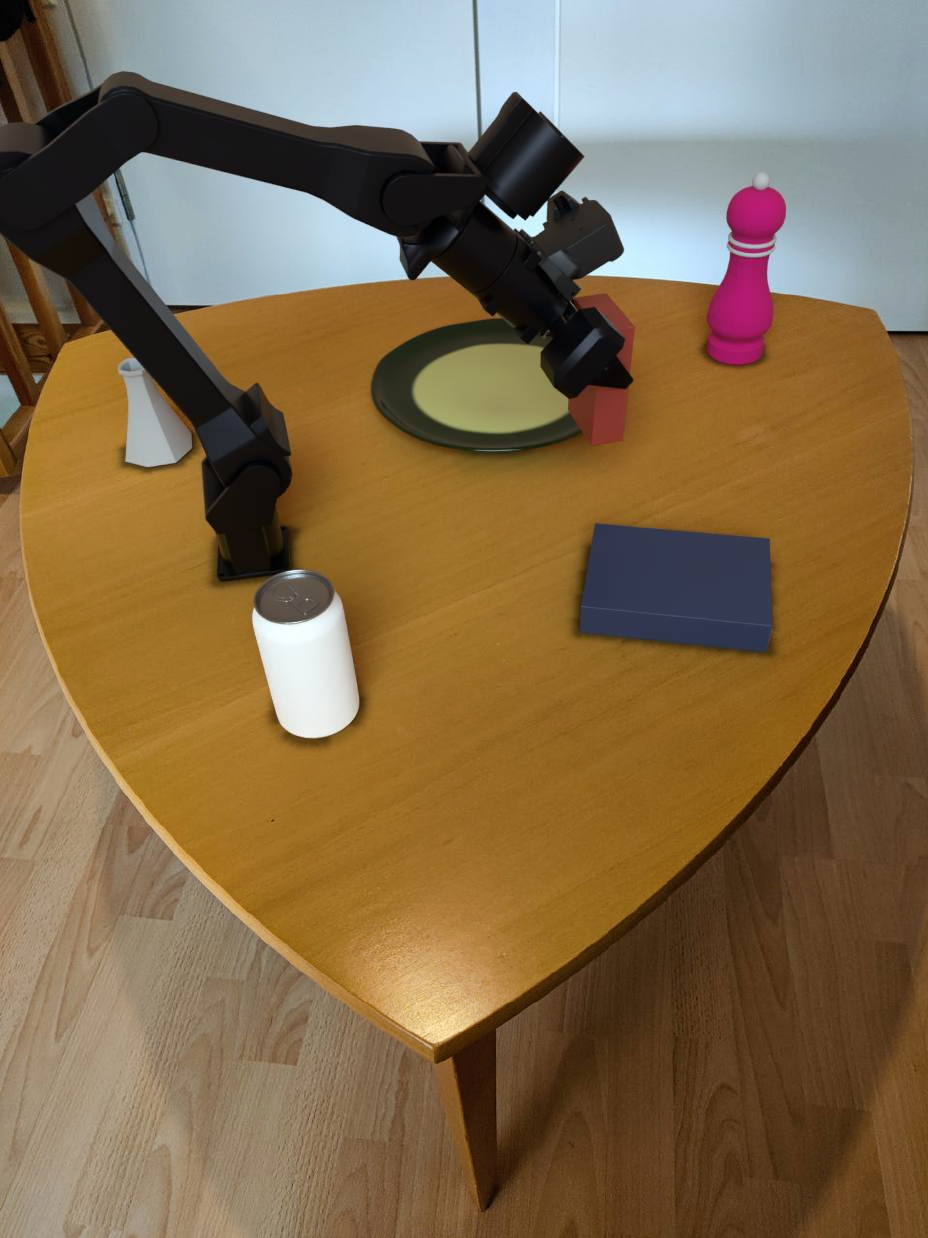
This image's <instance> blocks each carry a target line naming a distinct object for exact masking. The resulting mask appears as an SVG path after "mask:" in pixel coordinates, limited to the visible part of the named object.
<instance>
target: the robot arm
mask: <svg viewBox="0 0 928 1238" xmlns="http://www.w3.org/2000/svg"><path fill="white" fill-rule="evenodd" d="M142 153H143V154H145V153H147V154H150V155H153V156H158V157H161V158H165V159H166V158H167V159H170V160H174V161H179V162H180V163H181V162H182V163H186V164H190V165H193V166H197V167H202V168H205V169H209V170H210V169H211V170H214V171H218V172H221V173H226V174H229V175H233V176H238V177H241V178H245V179H250V180H252V181H258V182H261V183H264V184H269V185H272V186H277V187H282V188H286V189H289V190H293V191H297V192H302V193H305V194H308V195H311V196H313V197H315V198H317V199H320V200H322V201H324V202H326V203H327V204H328V205H330V206H331V207H334V208H335V209H337V210H338V211H340V212H341V213H343V214H344V215H346V216H348V217H350V218H351V219H353V220H355V221H358V222H360V223H363V224H365V225H367V226H369V227H371V228H373V229H376V230H378V231H380V232H383V233H385V234H386V235H389V236H392V237H396V240H397V242H398V245H399V258H398V259H399V262H400V263H401V266H402V269H403V270H404V272H405V276H406V277H407V279H408V280H409V281H416V280H417V279H418V278H419V277H420V275H421V274H422V273H423V272H424V271H425V269H426V268H427V267H428V266H429V264H430V263H432V264H433V265H435V266H436V267H437V268H438V269H440V270H441V271H442V272H444V273H445V274H446V275H447V276H448V277H450V278H451V279H452V280H453V281H455V282H456V283H457V284H458V285H460V286H461V287H462V288H464V289H465V291H467V292H468V293H470V294H471V295H472V296H473V297H474V298H476V299H477V301H478V303H479V305H480V306H481V307H482V309H483V311H485V312H486V313H487V314H488V315H490V316H491V317H492V318H494V316H495V315H497V316H498V317H499V318H502V319H504V320H505V321H506V322H507V323H509V324H510V325H511V326H513V327H514V328H513V329H514V330H515V332H516V333H517V335H518V336H519V338H520V339H521V340H523V341H524V342H525V343H527V344H529V343H530V342H531V341H532V340H533V338H534V337H535V336H536V335H537V334H538V333H539V334H540V335H541V337H543V338H544V339H545V338H547V337H548V336H549V337H552V338H553V339H552V340H551V341H550V342H549V343H548V344H547V345H546V347H545V348H544V349H543V350H542V351H541V355H540V367H541V369H542V370H543V372H544V373H545V375H546V376H547V378H548V379H549V381H550V382H551V384H552V386H553V387H554V388H555V389H556V390H558V391H559V392H560V393H562V394H563V395H564V396H566V397H567V398H568V399H572V398H576V397H577V396H578V395H579V394H580V393H581V392H582V391H583V390H584V389H585V388H586V387H587V386H588V385H592V386H601V387H610V388H618V389H626V388H628V387H629V388H630V386H631V385H632V384H633V382H634V381H635V380H634V377H633V376H632V375H631V372H630V373H629V372H628V371H627V369H626V368H625V367H624V365H623V364H622V362H621V361H620V360H619V358H618V357H617V354H618V353H619V352H620V351H621V350H622V349H623V346H624V343H625V338H624V337H623V335H622V334H621V333H620V332H619V330H618V329H617V328H616V327H615V325H614V324H613V323H612V322H611V321H610V320H609V319H608V317H607V316H606V315H604V314H603V313H602V312H601V311H599V310H598V309H597V308H596V307H590V308H583V309H579V310H577V309H576V308H575V307H574V298H576V297H577V295H578V294H579V293H580V292H581V291H582V288H581V287H580V285H579V284H578V283H576V282H575V281H577V280H581V279H583V278H584V277H587V276H588V275H590V274H591V273H593V272H594V271H596V270H597V269H600V268H601V267H603V266H605V265H606V264H607V263H611V262H612V263H613V262H615V261H617V260H618V259H619V258H621V256H623V254H624V252H625V247H624V245H623V242H622V239H621V237H620V235H619V232H618V229H617V227H616V225H615V222H614V219H613V217H612V215H611V214H610V213H609V211H608V210H607V209H606V208H605V207H604V206H603V205H602V204H601V203H600V202H599V201H598V200H596V199H589V198H588V197H587V196H584V197H582V198H581V202H582V203H580V202H579V201H578V200H577V199H575V198H574V197H573V196H571V195H570V194H569V193H567V192H566V191H565V190H559V191H558V192H556V191H557V190H558V189H559V188H560V187H561V186H562V184H564V182H565V181H566V180H567V179H568V177H569V176H570V175H571V174H572V173H573V171H575V169H576V168H577V167H578V165H579V164H580V163H581V162H582V161H583V159H584V158H585V155H584V154H583V152H582V151H580V150H579V148H578V147H577V146H576V145H574V143H573V142H571V141H570V139H569V138H568V137H567V136H566V135H565V134H564V133H563V132H562V131H561V130H560V129H559V128H558V127H557V126H556V125H555V124H554V123H553V122H552V121H551V120H550V119H549V118H548V117H547V116H546V115H545V114H544V113H543V112H542V111H541V110H539V112H538V111H537V110H536V109H535V108H534V107H533V106H532V105H531V104H530V103H529V102H528V101H527V100H526V99H524V97H522V95H521V94H520V93H519V92H518V91H513V92H511V94H510V95H509V96H508V98H507V99H506V100H505V101H504V103H503V104H502V106H501V107H500V110H499V112H498V113H497V115H496V117H495V118H494V119H493V120H492V122H491V123H490V124H489V126H487V128H486V130H485V131H484V132H483V133H482V135H481V136H480V137H479V138H478V139H477V141H476V142H475V143H474V144H473V146H472V147H471V148H470V149H469V150H467V149H466V147H465V146H464V145H463V143H462V142H459V141H458V142H457V141H424V140H418V139H417V138H416V137H415V135H413V134H412V133H409V132H408V131H406V130H404V129H401V128H395V127H385V126H374V125H361V124H351V125H341V126H340V125H339V126H320V125H319V126H318V125H311V124H307V123H304V122H300V121H297V120H293V119H289V118H286V117H282V116H280V115H279V116H278V115H276V114H275V115H274V114H271V113H268V112H264V111H260V110H257V109H254V108H250V107H246V106H242V105H239V104H235V103H231V102H228V101H224V100H222V99H221V100H220V99H217V98H213V97H210V96H206V95H202V94H199V93H195V92H191V91H188V90H185V89H181V88H178V87H174V86H170V85H166V84H163V83H159V82H155V81H152V80H150V79H148V78H146V77H145V76H143V75H142V74H140V73H137V72H134V71H127V70H122V71H118V72H114V73H111V74H110V75H109V76H108V77H107V78H106V79H104V80H103V82H102V83H100V84H99V85H97V86H96V87H95V88H93V89H91V90H90V91H88V92H86V93H83V94H81V95H79V96H77V97H75V98H73V99H71V100H69V101H66V102H65V103H63V104H61V105H58V106H57V107H54V109H52V110H51V111H49V112H48V113H46V114H45V115H43V116H42V117H40V118H38V119H37V120H36V121H34V122H32V123H30V122H27V121H17V122H8V123H7V124H4V125H2V126H0V236H1V237H2V238H4V239H5V240H6V241H8V243H9V244H11V245H12V246H13V247H14V248H15V249H17V250H18V251H19V252H21V254H23V255H24V256H25V257H26V258H27V259H28V260H30V261H32V262H33V263H35V264H37V265H39V266H41V267H42V268H44V269H46V270H48V271H50V272H51V273H54V274H55V275H57V276H59V277H61V278H63V279H64V280H65V281H66V282H68V283H69V284H70V285H71V286H72V287H73V289H75V290H76V292H77V293H78V294H79V295H80V296H81V297H82V299H83V300H84V301H85V302H86V303H87V304H88V306H89V307H90V308H91V309H92V310H93V311H94V312H95V314H96V315H97V316H98V317H99V318H100V319H101V320H102V322H103V323H104V324H105V325H106V326H107V328H109V330H110V331H111V332H112V333H113V334H114V336H115V337H116V338H117V339H118V340H119V342H121V343H122V345H123V347H125V348H126V349H127V350H128V352H129V353H130V354H131V356H133V357H135V359H136V360H137V361H138V362H139V363H140V364H141V365H142V367H143V368H144V369H145V370H146V371H147V372H148V374H149V375H150V376H151V377H152V378H153V380H154V382H155V384H156V385H157V386H159V388H160V389H161V390H162V391H163V393H164V394H165V395H166V396H167V397H168V398H169V399H170V400H171V402H172V403H173V404H174V405H175V406H176V408H177V409H179V411H180V412H181V413H182V414H183V415H184V416H185V418H186V419H187V420H188V422H190V424H191V426H192V427H193V429H194V431H195V434H196V435H197V438H198V440H199V442H200V445H201V446H202V447H201V448H202V449H203V451H204V454H205V457H204V458H203V459H202V460H201V462H200V468H201V469H200V470H201V481H202V494H203V506H204V507H203V508H204V519H205V521H206V522H207V524H208V525H209V526H210V527H211V528H212V530H213V531H214V534H215V537H216V542H217V559H216V560H217V561H216V562H217V563H216V578H217V580H218V582H222V583H224V582H231V581H238V580H239V581H240V580H246V579H254V578H262V577H269V576H274V575H276V574H279V573H281V572H285V571H289V570H291V549H290V548H291V547H290V545H291V544H290V530H289V527H288V526H286V525H281V523H280V520H279V514H278V510H277V502H278V499H279V498H280V497H281V496H283V495H284V494H286V492H287V491H288V489H289V487H290V486H291V483H292V479H293V475H294V474H293V471H292V470H293V469H292V464H291V459H290V457H291V456H292V450H291V444H290V439H289V434H288V429H287V425H286V419H285V418H286V417H285V414H284V412H283V411H281V410H280V409H278V408H277V407H275V406H274V405H273V404H272V403H271V402H270V401H269V399H268V397H267V396H266V394H265V391H264V390H263V388H262V386H261V385H260V383H259V382H255V383H253V384H252V385H251V386H250V387H249V388H248V389H246V390H243V389H241V388H239V387H237V386H236V385H233V384H232V383H231V382H229V381H228V380H227V379H226V378H225V377H224V376H223V374H222V373H221V371H219V369H218V368H217V366H216V365H215V364H214V363H213V362H212V360H211V359H210V358H209V357H208V355H207V354H206V353H205V351H203V349H202V348H201V347H200V346H199V344H198V343H197V342H196V341H195V339H194V338H193V337H192V336H191V335H190V333H189V332H188V331H187V329H186V328H185V327H184V325H182V323H181V322H180V320H179V319H178V318H177V317H176V315H174V313H173V311H171V309H170V308H169V307H168V305H167V304H166V303H165V302H164V301H163V299H162V298H161V297H160V296H159V294H158V293H157V292H156V291H155V289H154V288H153V287H152V286H151V284H150V283H149V282H148V281H147V280H146V278H145V277H144V276H143V274H142V273H141V272H140V271H139V269H138V268H137V267H136V266H135V264H134V263H133V262H132V260H131V259H130V258H129V257H128V255H127V254H126V253H125V252H124V250H122V248H121V246H119V244H118V243H117V242H116V241H115V239H114V238H113V236H112V234H111V233H110V230H109V228H108V226H107V224H106V221H105V219H104V217H103V215H102V213H101V210H100V207H99V206H98V204H97V201H96V199H95V196H94V195H93V192H94V191H96V190H97V189H98V188H99V187H100V186H101V185H102V184H104V182H105V181H107V180H108V179H109V178H110V177H112V176H113V175H114V174H115V173H116V172H117V171H118V170H119V169H120V168H121V167H123V166H124V165H125V164H126V163H127V162H129V161H131V160H132V159H133V158H135V157H136V156H138V155H140V154H142ZM555 192H556V193H555ZM485 196H486V197H487V198H488V199H489V200H490V201H491V202H492V203H493V204H494V205H495V206H496V207H498V209H499V210H500V211H502V212H503V213H504V214H505V215H506V216H507V217H509V218H510V219H512V220H515V218H516V217H517V216H518V217H520V218H521V219H522V220H524V221H527V220H528V219H529V217H532V218H534V217H535V215H537V213H538V212H539V211H540V210H541V209H542V207H543V206H544V205H545V204H546V219H545V220H546V221H544V222H543V223H541V224H542V226H543V230H542V231H540V232H539V233H537V234H536V235H534V236H531V235H529V233H528V232H527V231H525V230H524V229H523V228H520V230H518V229H517V228H515V227H514V229H513V228H511V226H509V225H508V224H507V223H506V222H505V221H504V220H503V219H502V218H500V217H499V216H498V215H497V214H496V213H495V212H494V211H492V210H491V208H489V207H488V206H487V205H486V204H485V203H483V202H482V199H483V198H484V197H485Z"/></svg>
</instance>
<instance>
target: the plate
mask: <svg viewBox="0 0 928 1238" xmlns="http://www.w3.org/2000/svg"><path fill="white" fill-rule="evenodd" d="M513 328H514V327H513V326H511V325H510V324H509V323H507V322H506V321H505V320H504V319H502V318H501V317H495V318H494V317H492V318H484V319H478V320H471V321H466V322H465V321H464V322H458V323H453V324H448V325H444V326H439V327H436V328H433V329H429V330H428V331H425V332H422V333H420V334H418V335H416V336H413V337H411V338H410V339H408V340H406V341H404V342H402V343H401V344H399V345H398V346H396V347H394V348H393V349H391V350H390V351H388V352H387V353H385V355H384V356H383V357H381V359H380V360H379V361H378V363H377V364H376V366H375V369H374V371H373V374H372V377H371V382H370V397H371V400H372V402H373V406H374V407H375V408H376V410H377V411H378V413H379V414H380V415H381V416H382V417H383V418H384V419H385V420H387V422H389V423H391V425H393V426H394V427H396V428H397V429H398V430H400V431H401V432H403V433H404V434H406V435H408V436H410V437H412V438H415V439H417V440H419V441H421V442H424V443H428V444H431V445H434V446H438V447H442V448H446V449H447V448H448V449H453V450H457V451H458V450H459V451H467V452H479V453H480V452H481V453H503V452H519V451H526V450H534V449H539V448H544V447H548V446H552V445H556V444H559V443H561V442H565V441H567V440H569V439H572V438H574V437H577V436H579V435H581V434H583V432H582V431H581V429H580V428H579V426H578V424H577V423H576V421H575V420H574V418H573V417H572V415H571V414H570V412H569V411H568V398H567V397H566V396H564V395H563V394H562V393H560V392H559V391H558V390H556V389H555V388H554V387H553V386H552V384H551V382H550V381H549V379H548V378H547V376H546V375H545V373H544V372H543V370H542V369H541V367H540V355H541V351H542V350H543V349H544V348H545V347H546V345H547V344H548V343H549V342H550V341H551V340H552V339H553V338H552V337H549V336H548V337H547V338H545V339H544V338H543V337H541V335H540V334H539V333H538V334H537V335H536V336H535V337H534V338H533V340H532V341H531V342H530V343H529V344H527V343H525V342H524V341H523V340H521V339H520V338H519V336H518V335H517V333H516V332H515V330H514V329H513Z"/></svg>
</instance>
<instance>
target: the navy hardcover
mask: <svg viewBox="0 0 928 1238" xmlns="http://www.w3.org/2000/svg"><path fill="white" fill-rule="evenodd" d="M592 532H593V533H592V538H591V544H590V549H589V550H590V551H589V556H588V562H587V568H586V574H585V580H584V587H583V592H582V597H581V604H580V615H579V633H580V634H589V635H597V636H598V635H599V636H607V637H617V638H626V639H636V640H644V641H652V642H653V641H654V642H655V641H656V642H663V643H664V642H665V643H672V644H673V643H674V644H685V645H692V646H701V647H702V646H703V647H711V648H721V649H729V650H738V651H739V650H740V651H749V652H757V653H767V652H768V648H769V644H770V639H771V636H772V632H773V625H774V624H773V623H774V622H773V596H772V595H773V594H772V565H771V562H772V561H771V539H770V538H769V537H758V536H757V537H756V536H746V535H735V534H725V533H724V534H723V533H714V532H713V533H712V532H702V531H701V532H700V531H689V530H677V529H666V528H655V527H654V528H653V527H644V526H643V527H642V526H632V525H621V524H608V523H599V522H598V523H596V522H595V523H594V525H593V531H592Z"/></svg>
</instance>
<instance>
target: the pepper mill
mask: <svg viewBox="0 0 928 1238" xmlns="http://www.w3.org/2000/svg"><path fill="white" fill-rule="evenodd" d="M770 184H771V177H770V175H769V174H768V173H767V172H766V171H759V172H756V174H755V175H754V176H752V180H751V185H750V186H747V187H744V188H741V189H740V190H739V191H737V192H736V193H734V195H733V196H732V197H731V199H730V201H729V203H728V205H727V209H726V213H725V215H726V216H725V219H726V223H727V227H729V230H730V232H729V233H728V235H727V239H728V241H727V242H726V248H727V250H728V251H729V258H728V259H729V260H728V263H727V268H726V271H725V274H724V276H723V278H722V280H721V282H720V283H719V286H718V287H717V289H716V291H715V292H714V294H713V296H712V298H711V299H710V302H709V305H708V309H707V312H706V313H707V314H706V323H707V326H708V327H709V328H710V330H711V332H709V334H708V337H707V345H706V352H707V354H708V355H709V357H711V358H712V359H713V360H715V361H717V362H720V363H722V364H726V365H734V366H739V365H740V366H741V365H747V364H752V363H754V362H756V361H758V360H759V359H760V358H761V357H762V356H763V353H764V347H765V337H764V335H765V334H766V333H768V331H769V330H770V329H771V327H772V324H773V322H774V313H775V310H774V309H775V308H774V301H773V297H772V293H771V288H770V286H769V278H768V270H769V269H768V268H769V267H768V266H769V260H770V256H771V254H773V253H774V252H775V250H776V243H777V239H778V237H777V235H776V234H777V233H778V232H779V230H781V228H783V226H784V223H785V222H786V221H785V220H786V217H787V204H786V200H785V198H784V197H783V195H782V193H780V192H779V191H778V190H776V189H775V188H773V187H770Z"/></svg>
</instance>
